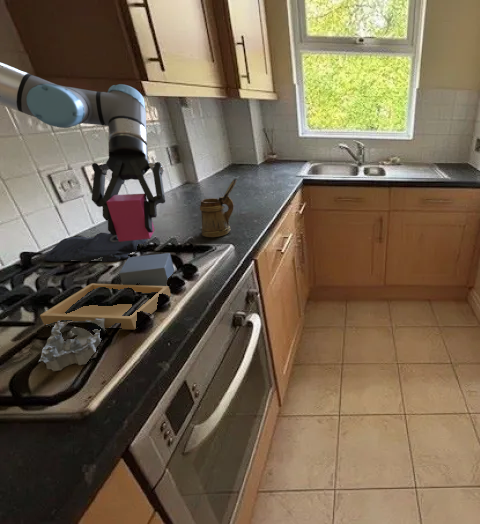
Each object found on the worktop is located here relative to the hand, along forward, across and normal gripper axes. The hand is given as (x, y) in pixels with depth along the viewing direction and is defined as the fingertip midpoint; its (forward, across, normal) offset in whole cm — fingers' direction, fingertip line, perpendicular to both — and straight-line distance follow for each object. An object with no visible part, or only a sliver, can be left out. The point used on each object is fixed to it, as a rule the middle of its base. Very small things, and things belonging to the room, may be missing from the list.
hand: (131, 231), depth 72 cm
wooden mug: (-14, -17, -35) cm, 41 cm away
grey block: (+7, 0, -13) cm, 15 cm away
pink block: (-1, 0, -4) cm, 4 cm away
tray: (+16, +5, -4) cm, 17 cm away
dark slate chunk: (-10, +17, -30) cm, 36 cm away
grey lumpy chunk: (+25, +7, +5) cm, 26 cm away
